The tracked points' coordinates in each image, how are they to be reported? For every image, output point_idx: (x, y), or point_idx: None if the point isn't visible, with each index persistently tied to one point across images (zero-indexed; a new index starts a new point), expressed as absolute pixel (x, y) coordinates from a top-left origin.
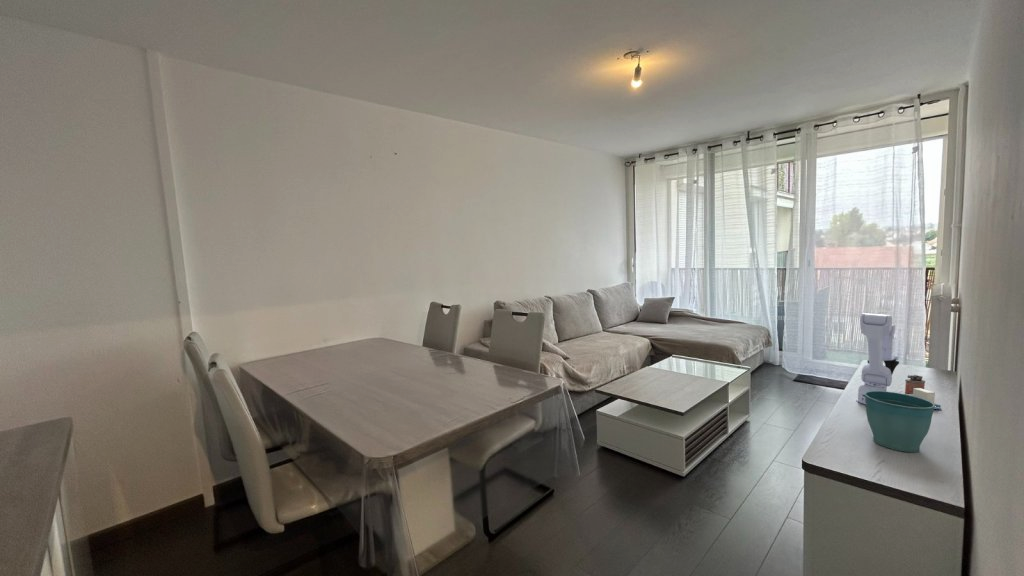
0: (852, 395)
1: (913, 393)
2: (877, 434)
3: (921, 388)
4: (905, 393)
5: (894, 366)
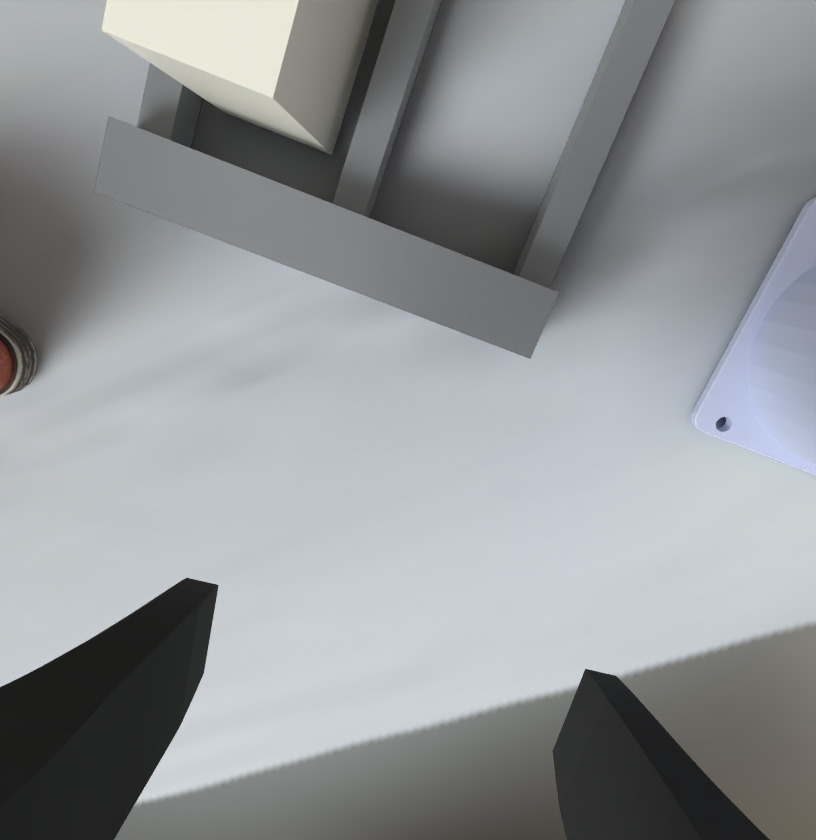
0: (673, 632)
1: (301, 116)
2: None
3: (112, 5)
4: (19, 377)
5: (2, 755)
